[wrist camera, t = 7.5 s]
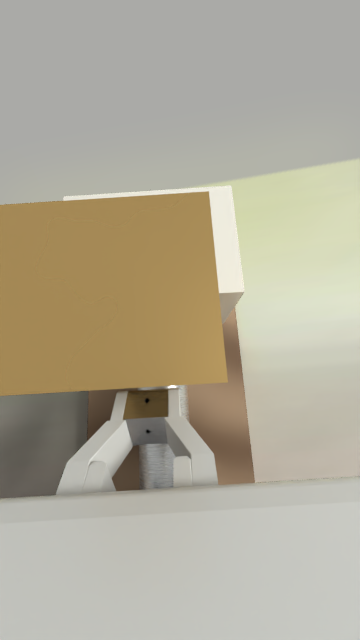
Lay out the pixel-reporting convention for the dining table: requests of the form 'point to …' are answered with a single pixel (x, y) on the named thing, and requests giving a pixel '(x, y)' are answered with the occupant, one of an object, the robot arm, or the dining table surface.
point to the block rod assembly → (111, 301)
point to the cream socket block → (223, 239)
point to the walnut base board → (197, 420)
